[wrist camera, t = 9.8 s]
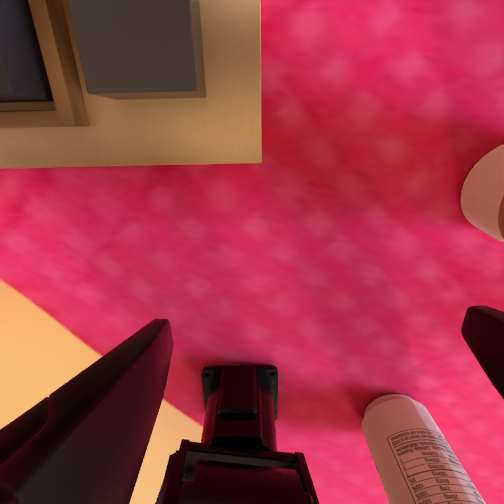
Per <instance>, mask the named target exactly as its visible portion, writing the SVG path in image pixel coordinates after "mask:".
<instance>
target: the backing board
mask: <svg viewBox="0 0 504 504" xmlns="http://www.w3.org/2000/svg"><path fill="white" fill-rule="evenodd" d="M28 2H29V6H30V10H31V14H32V18H33V22H34V26H35V30H36V33H37V37H38V41H39V45H40V49H41V53H42V57H43V60H44V64H45V68H46V72H47V76H48V80H49V84H50V87H51V91H52V95H53V99H54V101H51V102H12V103H0V169H11V168H57V167H102V166H148V165H194V164H239V163H262V106H261V0H28Z"/></svg>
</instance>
